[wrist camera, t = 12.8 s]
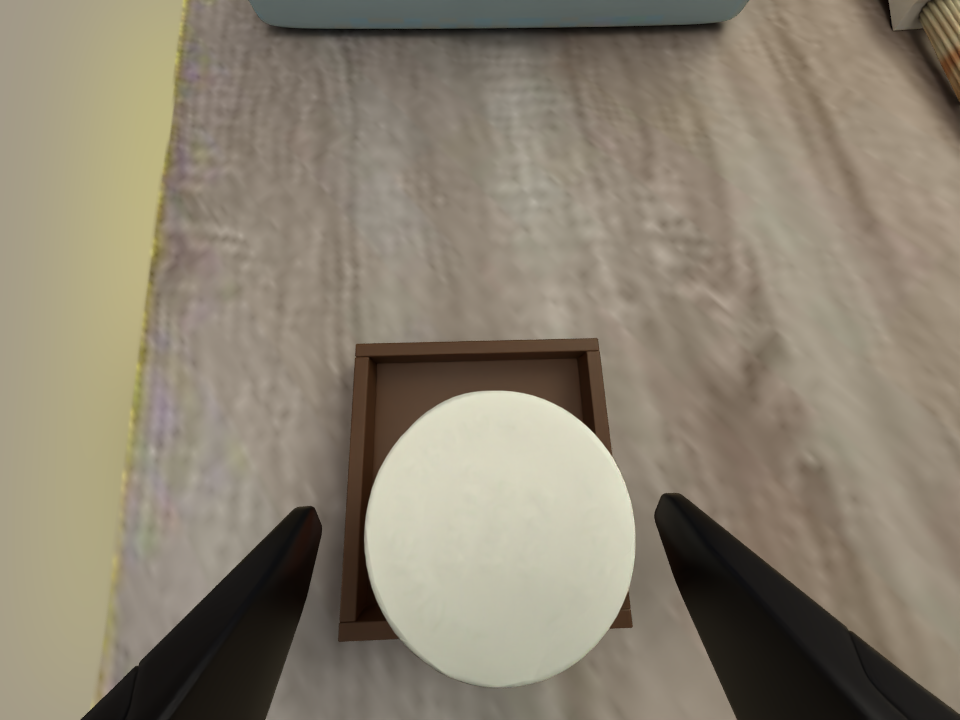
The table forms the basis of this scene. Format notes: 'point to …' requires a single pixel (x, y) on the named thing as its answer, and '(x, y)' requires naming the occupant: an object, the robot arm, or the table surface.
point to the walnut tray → (421, 386)
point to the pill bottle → (499, 539)
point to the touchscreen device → (491, 13)
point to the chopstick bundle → (934, 30)
